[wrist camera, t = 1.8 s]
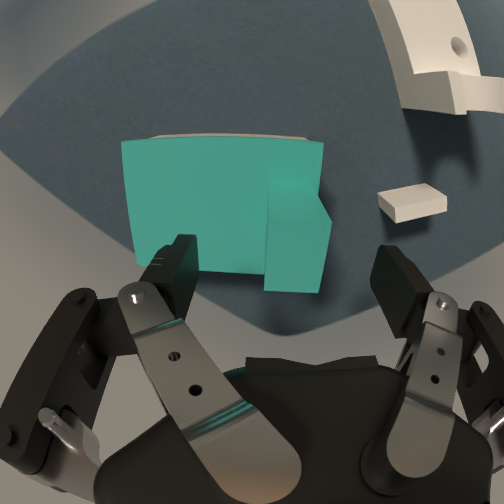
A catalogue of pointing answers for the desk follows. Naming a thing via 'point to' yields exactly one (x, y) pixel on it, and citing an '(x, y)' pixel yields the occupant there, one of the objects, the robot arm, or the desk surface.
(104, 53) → the desk surface
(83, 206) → the desk surface
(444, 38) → the bracket
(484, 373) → the robot arm
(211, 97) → the desk surface
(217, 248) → the lid
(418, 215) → the eraser
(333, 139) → the desk surface
